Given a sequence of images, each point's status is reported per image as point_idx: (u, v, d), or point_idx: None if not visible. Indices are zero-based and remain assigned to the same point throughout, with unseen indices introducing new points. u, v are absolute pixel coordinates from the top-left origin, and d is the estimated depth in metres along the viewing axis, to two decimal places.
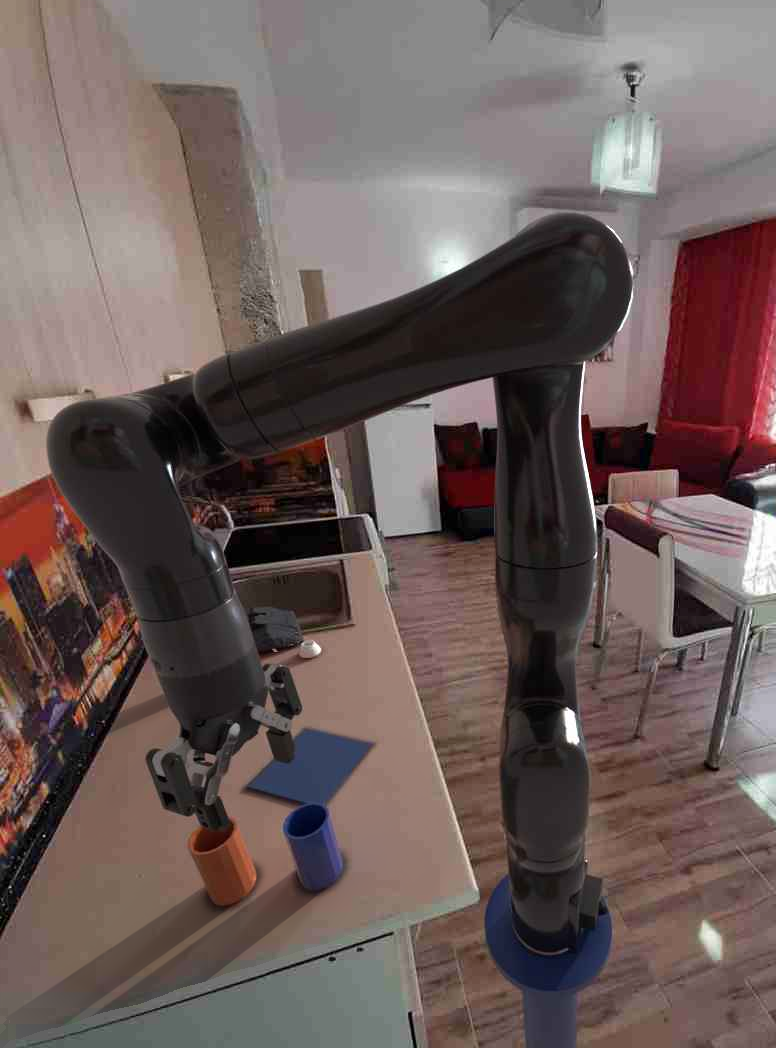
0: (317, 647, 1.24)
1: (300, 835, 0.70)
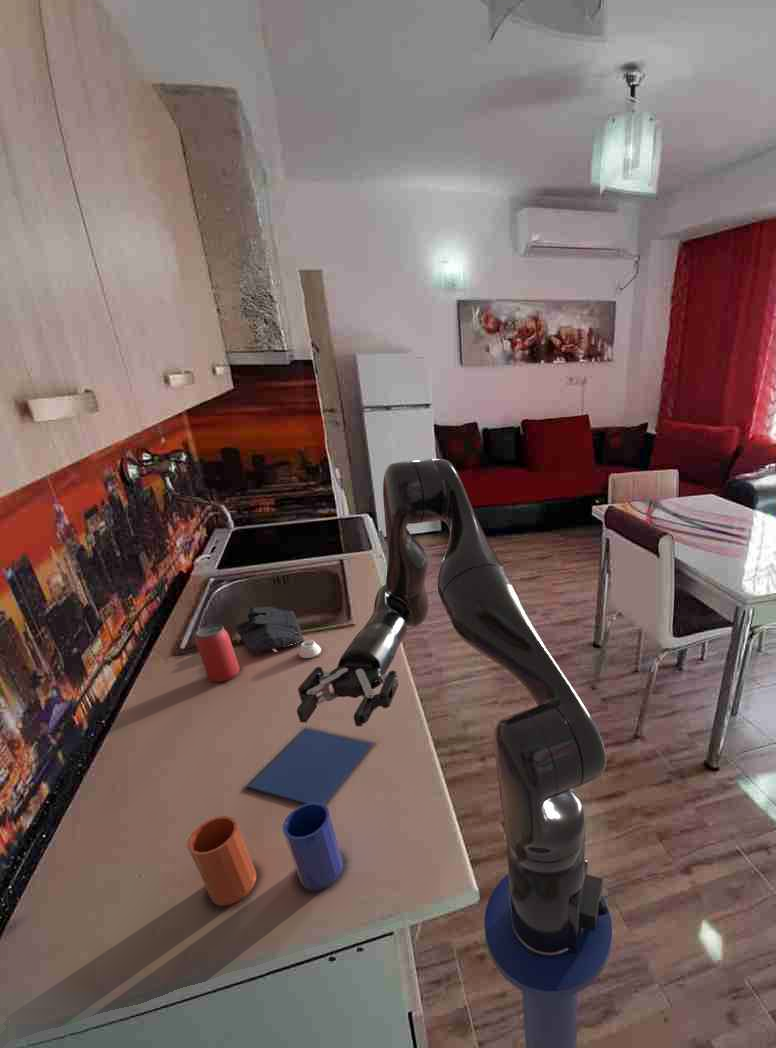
0: (317, 647, 1.24)
1: (300, 835, 0.70)
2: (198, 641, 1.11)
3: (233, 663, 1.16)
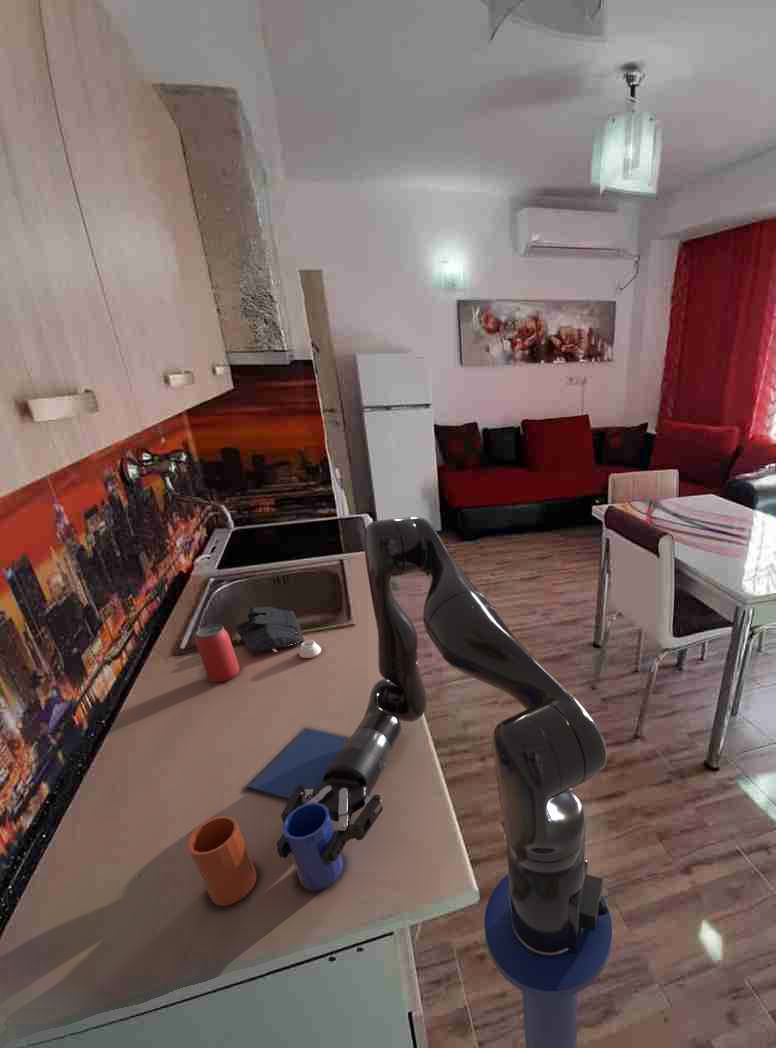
0: (317, 647, 1.24)
1: (300, 835, 0.70)
2: (198, 641, 1.11)
3: (233, 663, 1.16)
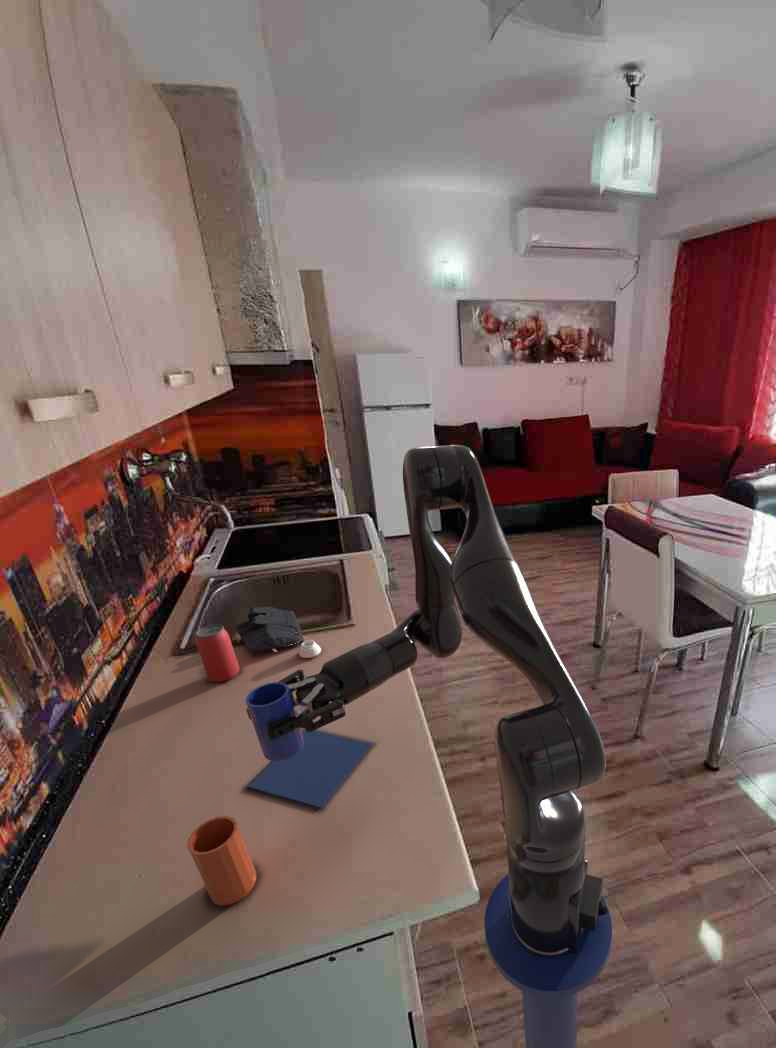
0: (317, 647, 1.24)
1: None
2: (198, 641, 1.11)
3: (233, 663, 1.16)
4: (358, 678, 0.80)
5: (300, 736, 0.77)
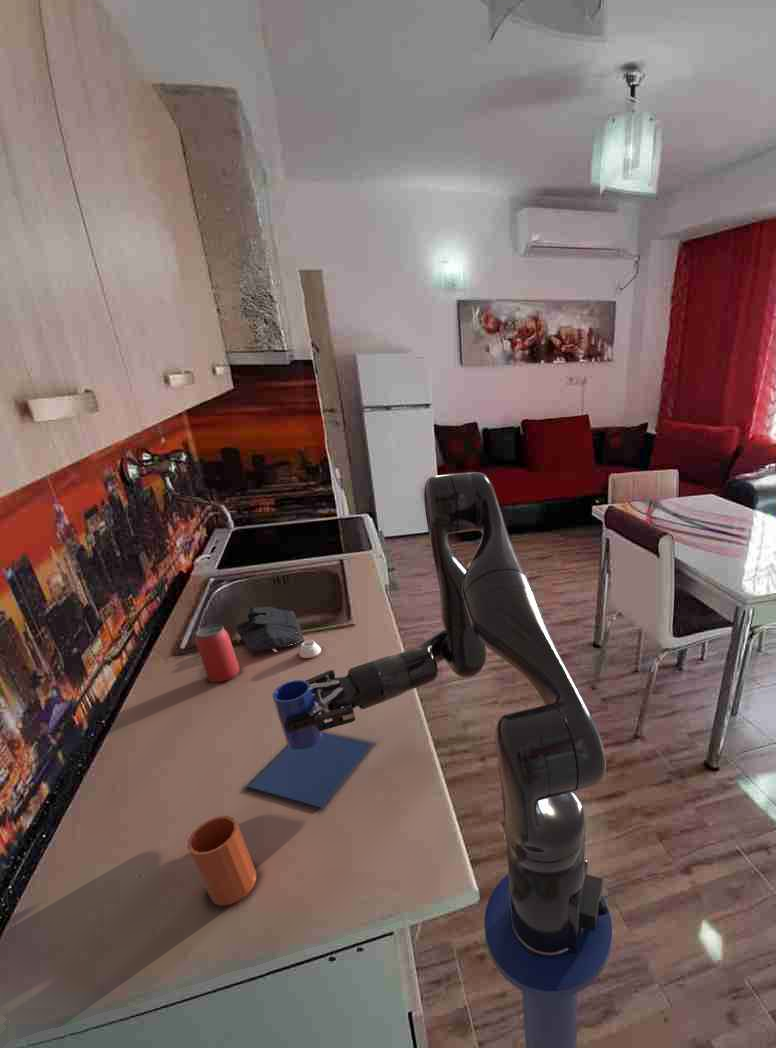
0: (317, 647, 1.24)
1: None
2: (198, 641, 1.11)
3: (233, 663, 1.16)
4: (374, 688, 0.87)
5: (317, 731, 0.86)
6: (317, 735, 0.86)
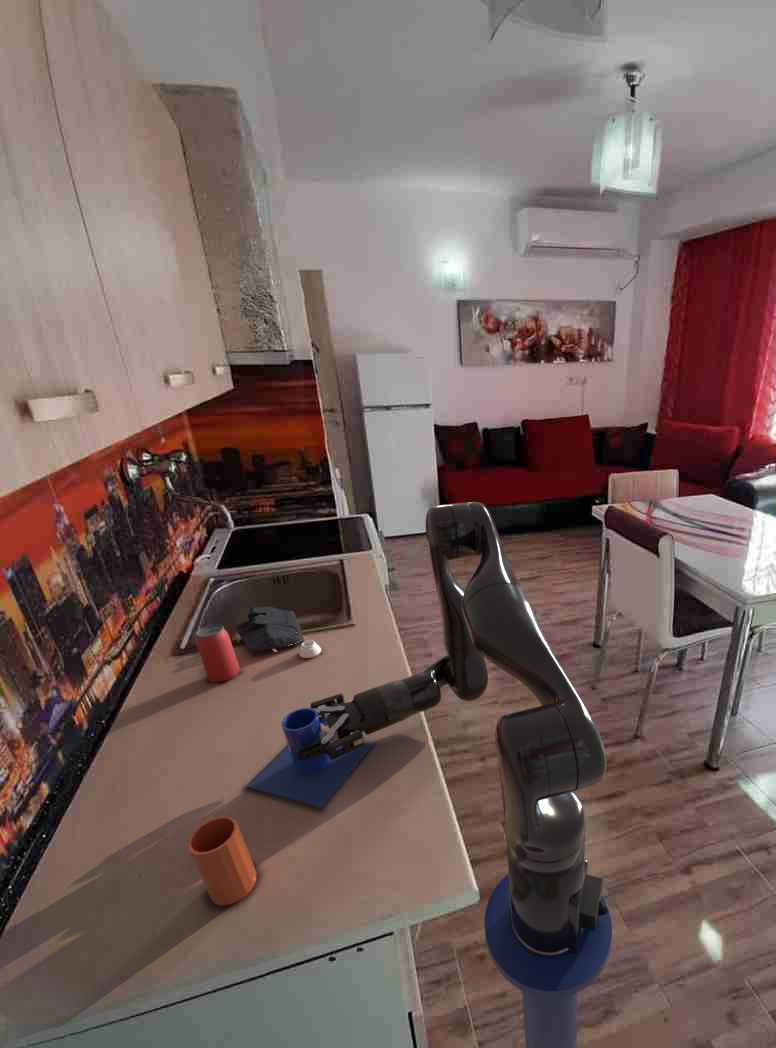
0: (317, 647, 1.24)
1: None
2: (198, 641, 1.11)
3: (233, 663, 1.16)
4: (379, 714, 0.89)
5: (324, 757, 0.89)
6: (324, 761, 0.89)
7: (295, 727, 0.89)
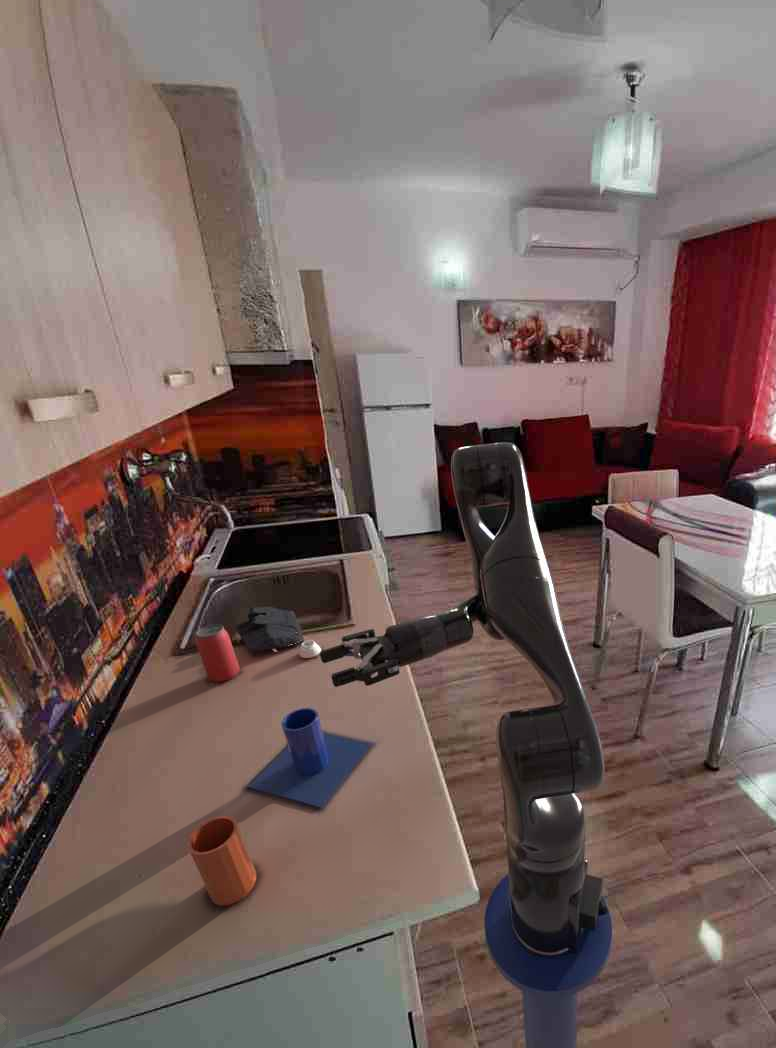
0: (317, 647, 1.24)
1: None
2: (198, 641, 1.11)
3: (233, 663, 1.16)
4: (413, 644, 0.88)
5: (324, 757, 0.89)
6: (324, 761, 0.89)
7: (295, 727, 0.89)
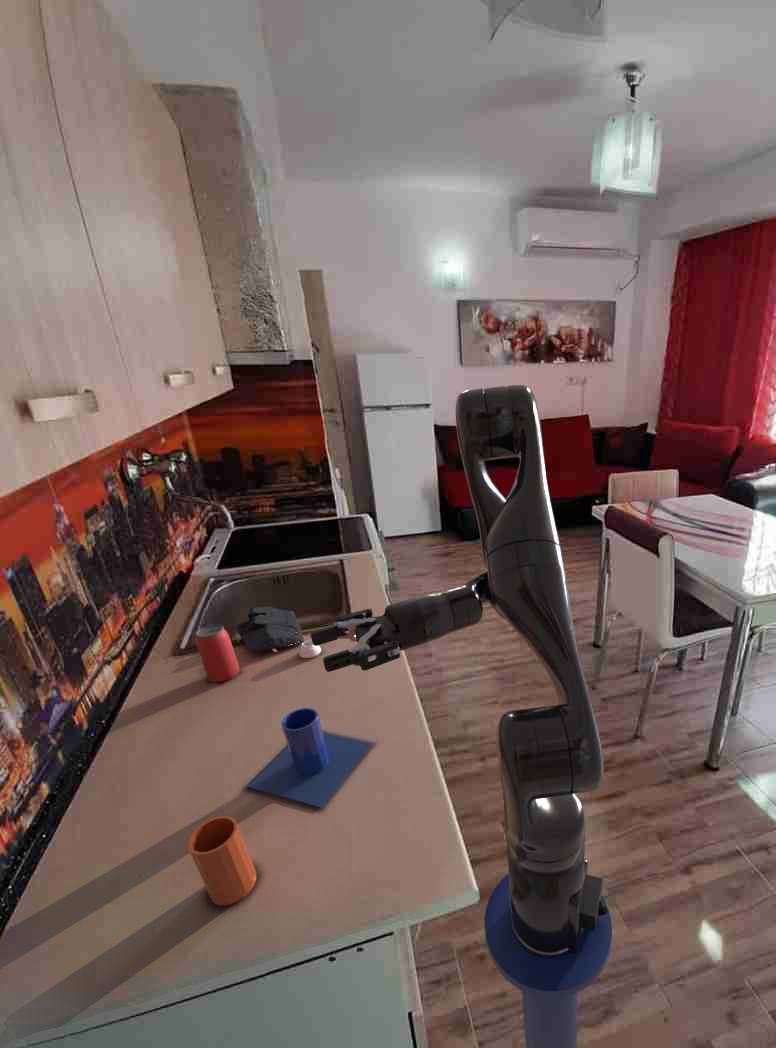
0: (317, 647, 1.24)
1: None
2: (198, 641, 1.11)
3: (233, 663, 1.16)
4: (415, 625, 0.78)
5: (324, 757, 0.89)
6: (324, 761, 0.89)
7: (295, 727, 0.89)
